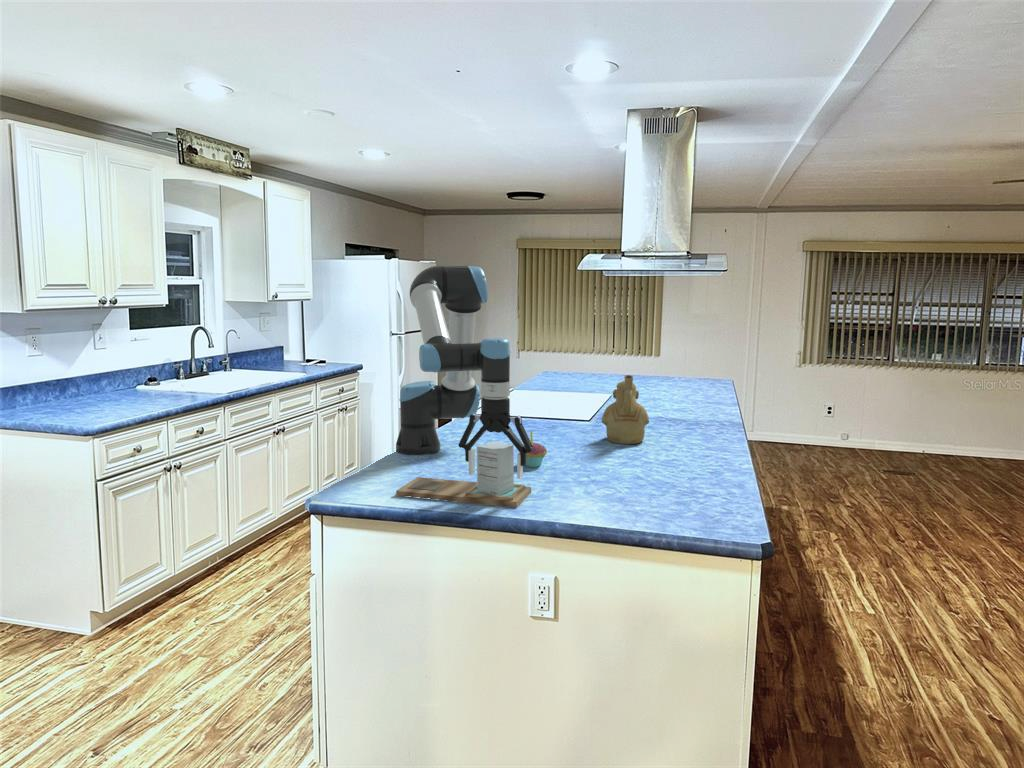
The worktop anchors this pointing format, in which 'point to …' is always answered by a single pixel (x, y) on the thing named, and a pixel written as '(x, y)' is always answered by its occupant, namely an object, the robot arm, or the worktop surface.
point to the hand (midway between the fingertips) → (495, 475)
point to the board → (462, 492)
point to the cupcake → (535, 454)
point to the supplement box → (495, 468)
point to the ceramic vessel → (625, 415)
